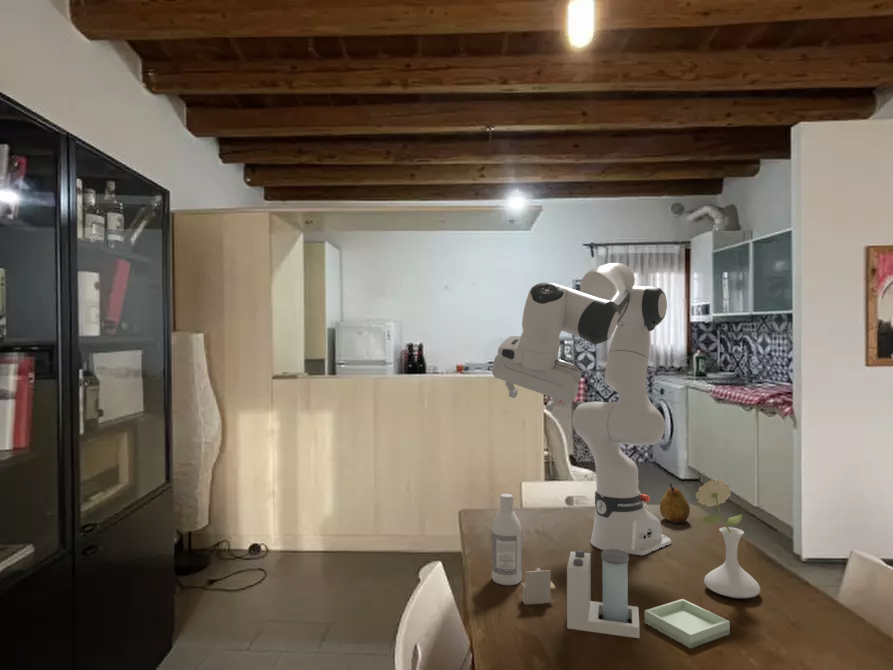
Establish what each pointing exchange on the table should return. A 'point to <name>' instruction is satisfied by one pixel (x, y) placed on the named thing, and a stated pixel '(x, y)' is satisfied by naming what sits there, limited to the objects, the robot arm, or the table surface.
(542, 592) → the architectural model
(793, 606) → the table surface
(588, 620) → the base
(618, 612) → the cylinder
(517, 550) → the bath foam
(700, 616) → the tray
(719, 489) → the flower in vase
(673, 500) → the fruit
